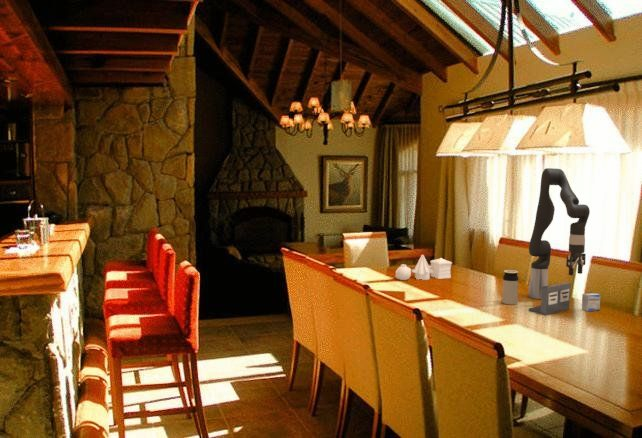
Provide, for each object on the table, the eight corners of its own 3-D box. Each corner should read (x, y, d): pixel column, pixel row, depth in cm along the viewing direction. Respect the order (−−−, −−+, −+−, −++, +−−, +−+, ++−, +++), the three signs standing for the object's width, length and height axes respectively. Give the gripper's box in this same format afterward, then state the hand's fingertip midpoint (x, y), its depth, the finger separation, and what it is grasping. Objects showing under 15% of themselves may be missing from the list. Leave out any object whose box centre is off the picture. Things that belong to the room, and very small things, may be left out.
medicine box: (587, 311, 310) (588, 295, 309) (581, 309, 314) (582, 293, 313) (599, 310, 312) (600, 294, 311) (593, 308, 316) (594, 292, 315)
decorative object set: (439, 274, 414) (439, 251, 413) (453, 278, 398) (454, 254, 397) (388, 278, 399) (389, 254, 398) (402, 283, 383) (402, 258, 381)
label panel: (528, 311, 310) (529, 284, 308) (552, 305, 323) (553, 280, 322) (546, 315, 301) (547, 288, 300) (570, 309, 315) (571, 283, 313)
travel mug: (518, 305, 322) (519, 272, 321) (502, 304, 324) (504, 272, 322) (516, 302, 330) (517, 270, 328) (501, 301, 332) (502, 269, 330)
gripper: (577, 241, 311) (575, 271, 313) (562, 243, 303) (561, 274, 304) (591, 243, 305) (589, 274, 307) (576, 245, 297) (574, 277, 298)
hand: (575, 274), depth 305 cm, fingers open, 8 cm apart
